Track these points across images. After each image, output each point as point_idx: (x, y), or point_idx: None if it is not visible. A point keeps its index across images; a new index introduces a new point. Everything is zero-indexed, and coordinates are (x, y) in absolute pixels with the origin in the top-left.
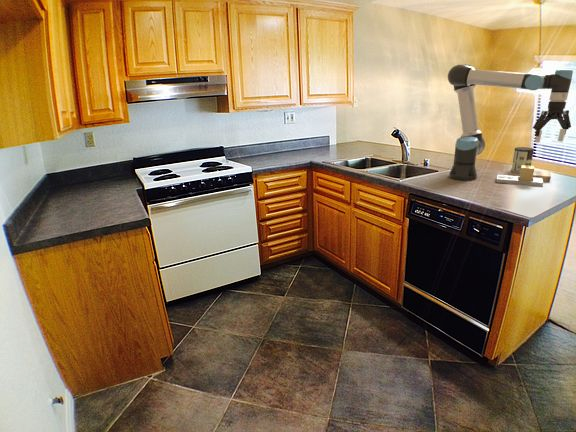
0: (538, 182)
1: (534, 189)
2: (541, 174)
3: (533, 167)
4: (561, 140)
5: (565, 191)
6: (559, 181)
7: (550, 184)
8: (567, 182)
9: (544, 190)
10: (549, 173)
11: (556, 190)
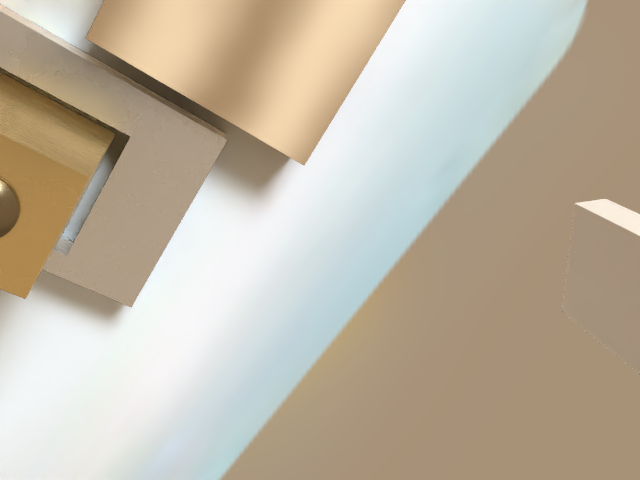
0: (96, 290)
1: (11, 374)
2: (267, 66)
3: (42, 245)
4: (580, 315)
5: (221, 426)
6: (382, 153)
7: (240, 240)
8: (419, 193)
9: (80, 401)
10: (378, 35)
11: (173, 403)
